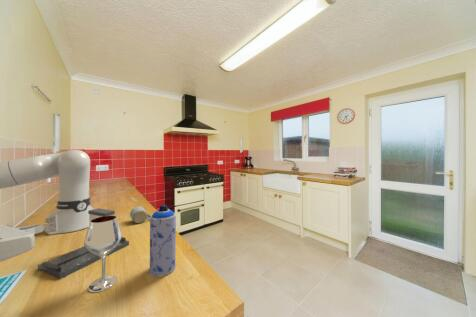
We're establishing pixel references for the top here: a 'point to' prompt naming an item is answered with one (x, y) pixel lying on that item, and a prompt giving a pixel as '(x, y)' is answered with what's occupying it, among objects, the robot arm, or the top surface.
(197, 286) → the top surface
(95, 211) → the fader knob
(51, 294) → the top surface
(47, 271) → the fader track
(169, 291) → the top surface
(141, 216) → the light bulb
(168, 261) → the aerosol can
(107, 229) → the wineglass
